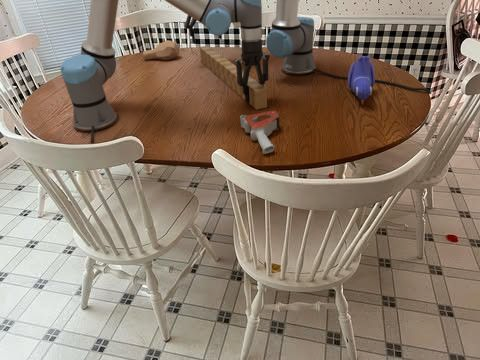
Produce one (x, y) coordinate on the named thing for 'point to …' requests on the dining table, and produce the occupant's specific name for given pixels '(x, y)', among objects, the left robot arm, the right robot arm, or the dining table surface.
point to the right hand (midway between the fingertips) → (207, 40)
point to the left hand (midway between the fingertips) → (253, 100)
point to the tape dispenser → (261, 128)
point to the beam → (233, 77)
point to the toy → (361, 78)
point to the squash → (163, 51)
